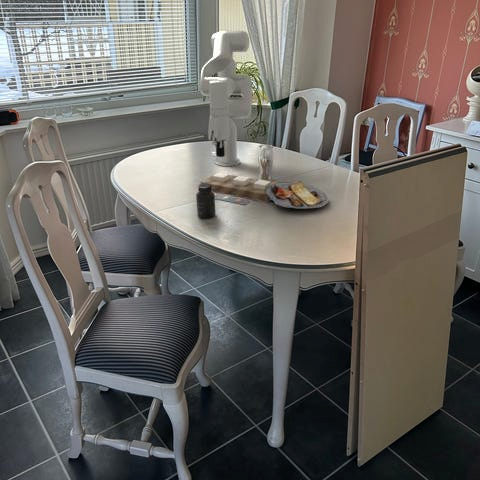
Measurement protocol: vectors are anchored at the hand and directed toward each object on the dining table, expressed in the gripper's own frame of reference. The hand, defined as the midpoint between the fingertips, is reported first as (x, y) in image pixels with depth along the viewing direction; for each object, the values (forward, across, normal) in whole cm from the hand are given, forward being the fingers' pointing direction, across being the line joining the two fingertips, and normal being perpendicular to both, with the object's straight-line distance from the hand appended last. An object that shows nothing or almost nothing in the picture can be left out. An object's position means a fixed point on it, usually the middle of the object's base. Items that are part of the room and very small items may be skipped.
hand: (220, 156), depth 197 cm
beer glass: (+13, -18, +13) cm, 25 cm away
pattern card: (+14, +12, +10) cm, 20 cm away
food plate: (+13, 0, +35) cm, 38 cm away
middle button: (+12, 0, +10) cm, 15 cm away
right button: (+12, 0, +20) cm, 23 cm away
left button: (+11, 0, 0) cm, 11 cm away
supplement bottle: (+14, +30, +12) cm, 35 cm away
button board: (+13, 0, +10) cm, 17 cm away
